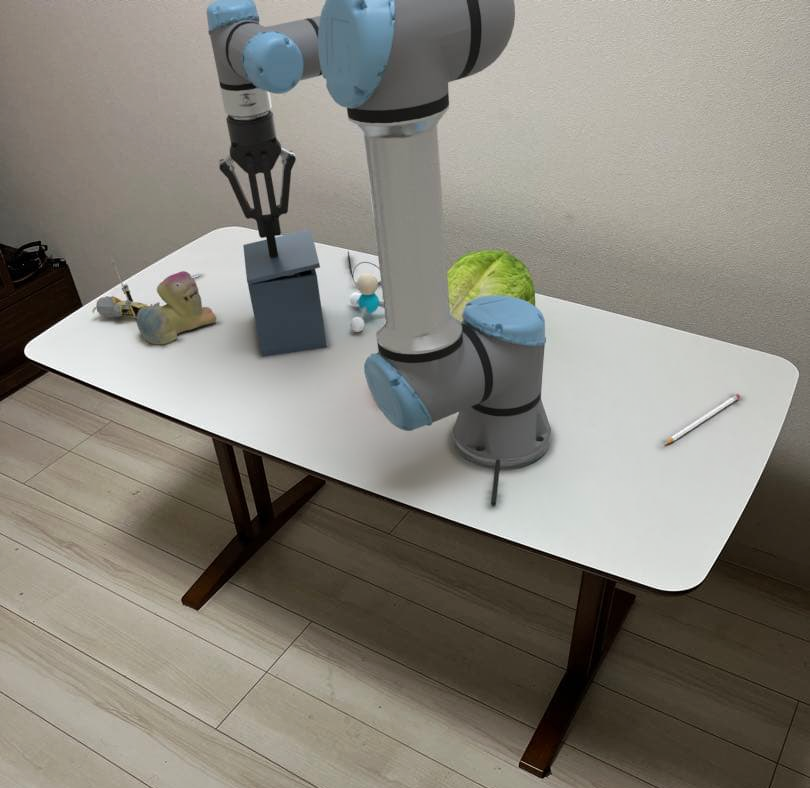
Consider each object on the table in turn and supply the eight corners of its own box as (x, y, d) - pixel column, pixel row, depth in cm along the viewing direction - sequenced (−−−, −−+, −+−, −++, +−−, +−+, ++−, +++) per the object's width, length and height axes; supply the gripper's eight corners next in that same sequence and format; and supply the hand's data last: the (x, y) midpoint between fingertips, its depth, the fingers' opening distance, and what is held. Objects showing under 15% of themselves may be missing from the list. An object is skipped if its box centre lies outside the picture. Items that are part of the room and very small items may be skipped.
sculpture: (159, 351, 160) (142, 302, 153) (136, 338, 165) (118, 290, 158) (222, 318, 167) (208, 271, 160) (197, 307, 172) (183, 260, 165)
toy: (174, 246, 175) (105, 240, 177) (141, 318, 163) (67, 311, 165) (180, 267, 180) (113, 262, 181) (148, 339, 168) (76, 333, 169)
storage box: (318, 309, 169) (308, 240, 159) (326, 347, 158) (316, 275, 148) (257, 318, 167) (244, 249, 158) (262, 356, 157) (247, 285, 147)
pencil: (739, 398, 139) (740, 395, 138) (666, 447, 131) (666, 443, 130) (735, 396, 139) (736, 393, 139) (661, 444, 131) (662, 441, 131)
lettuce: (397, 357, 155) (396, 294, 143) (469, 287, 166) (474, 223, 155) (475, 396, 149) (480, 333, 138) (544, 321, 161) (555, 257, 149)
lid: (311, 232, 158) (310, 228, 157) (320, 267, 147) (319, 263, 147) (244, 248, 158) (243, 244, 157) (248, 284, 147) (246, 280, 147)
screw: (162, 285, 179) (163, 288, 179) (162, 284, 179) (164, 286, 179) (198, 275, 182) (199, 278, 182) (198, 274, 182) (199, 276, 182)
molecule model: (335, 307, 168) (330, 265, 162) (392, 294, 171) (389, 253, 165) (353, 336, 160) (348, 293, 154) (412, 322, 162) (409, 279, 156)
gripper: (208, 125, 132) (237, 267, 148) (291, 115, 133) (311, 257, 150) (207, 110, 137) (236, 249, 154) (287, 100, 139) (307, 239, 155)
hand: (273, 253), depth 152 cm, fingers closed
